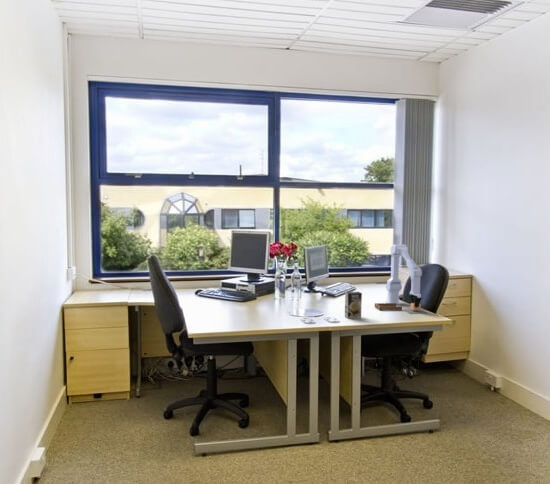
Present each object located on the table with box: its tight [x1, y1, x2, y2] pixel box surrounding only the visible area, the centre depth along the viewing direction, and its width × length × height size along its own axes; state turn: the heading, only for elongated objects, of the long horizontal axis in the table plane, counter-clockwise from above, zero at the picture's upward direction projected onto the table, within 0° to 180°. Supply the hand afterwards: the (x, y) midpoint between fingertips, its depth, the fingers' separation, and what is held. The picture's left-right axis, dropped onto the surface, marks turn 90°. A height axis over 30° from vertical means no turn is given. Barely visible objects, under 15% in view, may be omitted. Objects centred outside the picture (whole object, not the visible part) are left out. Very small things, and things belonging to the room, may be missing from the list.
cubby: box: [374, 302, 403, 312], centre depth 336 cm, size 12×16×2 cm
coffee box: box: [344, 291, 363, 320], centre depth 309 cm, size 9×6×16 cm
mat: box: [402, 308, 428, 315], centre depth 328 cm, size 12×12×1 cm
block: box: [410, 302, 422, 310], centre depth 327 cm, size 5×5×4 cm
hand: (415, 306), depth 327 cm, fingers closed on block, 5 cm apart
